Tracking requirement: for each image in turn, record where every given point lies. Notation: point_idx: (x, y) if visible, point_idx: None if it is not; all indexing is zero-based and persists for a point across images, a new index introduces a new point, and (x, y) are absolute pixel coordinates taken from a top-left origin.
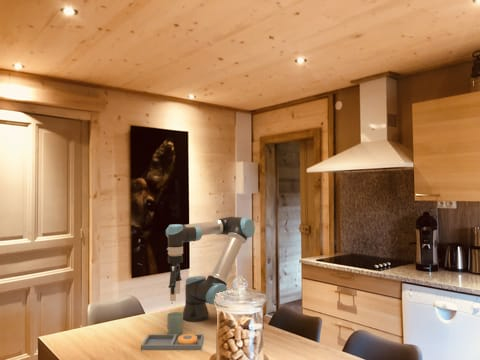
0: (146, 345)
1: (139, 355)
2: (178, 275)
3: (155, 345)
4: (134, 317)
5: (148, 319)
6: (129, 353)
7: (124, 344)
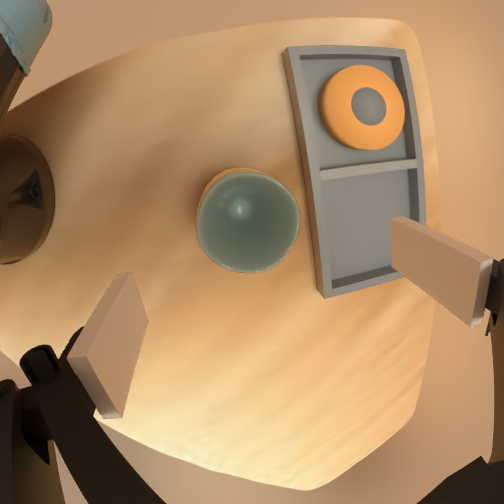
0: None
1: None
2: (125, 459)
3: (425, 221)
4: None
5: None
6: None
7: (363, 340)
